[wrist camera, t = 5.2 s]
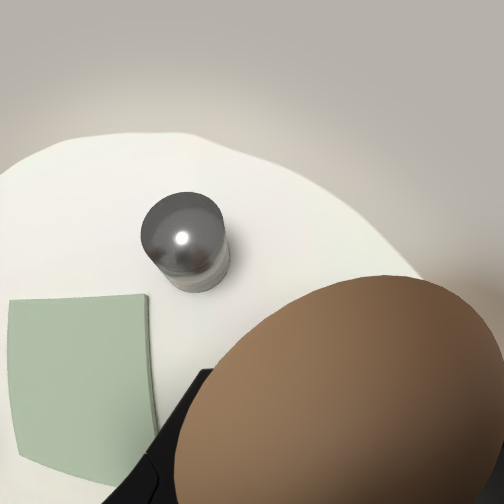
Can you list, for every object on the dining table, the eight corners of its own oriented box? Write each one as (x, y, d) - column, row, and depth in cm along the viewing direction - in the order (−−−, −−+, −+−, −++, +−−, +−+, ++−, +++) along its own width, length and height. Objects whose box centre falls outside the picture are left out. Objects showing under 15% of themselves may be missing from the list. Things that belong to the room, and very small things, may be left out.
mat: (24, 453, 10) (19, 454, 9) (14, 302, 15) (9, 300, 14) (168, 490, 10) (166, 494, 10) (147, 296, 15) (144, 293, 15)
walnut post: (240, 439, 12) (211, 601, 1) (229, 352, 14) (153, 299, 3) (332, 424, 12) (494, 507, 1) (321, 340, 14) (484, 255, 3)
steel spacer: (163, 295, 15) (138, 272, 12) (164, 233, 17) (143, 197, 13) (232, 289, 15) (226, 263, 12) (227, 226, 17) (221, 187, 13)
